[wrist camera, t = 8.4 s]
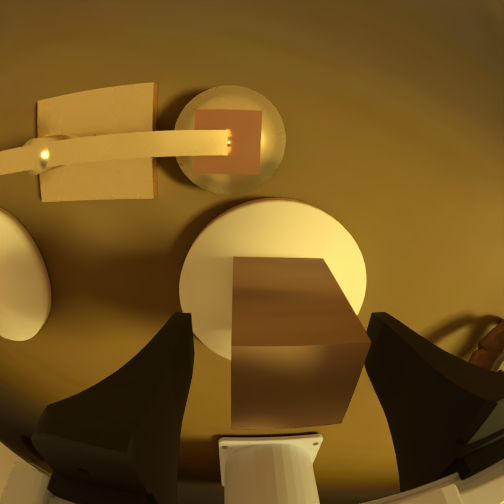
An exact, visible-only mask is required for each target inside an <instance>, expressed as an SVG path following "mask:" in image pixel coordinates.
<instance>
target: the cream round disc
mask: <svg viewBox="0 0 504 504" xmlns="http://www.w3.org/2000/svg"><path fill="white" fill-rule="evenodd" d="M51 304H52V293H51V284H50V279H49V275H48V272H47V268H46V265H45V263H44V260H43V258H42V255H41V253H40V251H39V249H38V247H37V245H36V244H35V242H34V240H33V239H32V237H31V236H30V234H29V233H28V231H27V230H26V229H25V227H24V226H23V225H22V224H21V223H20V222H19V221H18V220H17V219H16V218H15V217H14V216H13V215H12V214H11V213H9V212H8V211H6V210H5V209H3V208H1V207H0V336H2V337H4V338H7V339H10V340H15V341H23V340H28V339H30V338H32V337H33V336H34V335H36V333H37V332H38V331H39V330H40V328H41V327H42V326H43V324H44V323H45V322H46V320H47V318H48V316H49V313H50V310H51Z"/></svg>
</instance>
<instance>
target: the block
mask: <svg viewBox="0 0 504 504" xmlns="http://www.w3.org/2000/svg"><path fill="white" fill-rule="evenodd" d="M370 344H371V340H370V338H369V337H368V335H367V333H366V331H365V329H364V328H363V326H362V324H361V322H360V321H359V319H358V317H357V315H356V313H355V312H354V310H353V308H352V306H351V305H350V303H349V301H348V300H347V298H346V296H345V294H344V293H343V291H342V289H341V288H340V286H339V284H338V282H337V281H336V279H335V277H334V276H333V274H332V272H331V271H330V269H329V267H328V266H327V264H326V262H325V261H324V259H323V258H282V257H236V256H233V288H232V331H231V429H281V428H298V427H311V426H322V425H331V424H339V423H342V420H343V418H344V415H345V413H346V411H347V408H348V406H349V403H350V401H351V398H352V395H353V393H354V390H355V388H356V385H357V382H358V380H359V377H360V374H361V371H362V368H363V365H364V363H365V360H366V357H367V354H368V351H369V348H370Z"/></svg>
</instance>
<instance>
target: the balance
mask: <svg viewBox="0 0 504 504" xmlns="http://www.w3.org/2000/svg"><path fill="white" fill-rule="evenodd" d="M157 95H158V84H156V83H154V82H153V83H141V84H131V85H123V86H115V87H108V88H101V89H94V90H88V91H83V92H77V93H72V94H67V95H62V96H57V97H53V98H48V99H44V100H40V101H38V117H37V132H38V138H34V139H30V140H28V141H27V142H26V143H25V144H24V146H23V147H18V148H13V149H9V150H4V151H0V175H3V174H9V173H14V172H20V171H25V172H26V173H28V174H29V175H37V174H39V176H40V187H41V197H42V202H53V201H74V200H101V199H153V198H154V197H156V196H157V163H156V157H166V156H175V157H176V160H177V162H178V164H179V166H180V168H181V170H182V171H183V173H184V174H185V175H186V176H187V177H188V178H189V179H190V180H191V181H192V182H193V183H194V184H196V185H197V186H199V187H200V188H202V189H204V190H207V191H209V192H212V193H216V194H223V195H235V194H241V193H245V192H248V191H251V190H253V189H255V188H257V187H259V186H260V185H262V184H263V183H265V182H266V181H267V180H268V179H269V178H270V177H271V176H272V175H273V174H274V172H275V171H276V170H277V168H278V167H279V165H280V163H281V161H282V158H283V155H284V152H285V146H286V133H285V127H284V124H283V121H282V118H281V116H280V114H279V112H278V111H277V109H276V108H275V107H274V105H273V104H272V103H271V102H270V101H269V100H268V99H267V98H266V97H264V96H263V95H261V94H260V93H258V92H256V91H254V90H252V89H249V88H246V87H241V86H234V85H226V86H219V87H214V88H211V89H208V90H206V91H204V92H202V93H200V94H199V95H197V96H196V97H194V98H193V99H192V100H191V101H190V102H189V103H188V104H187V105H186V106H185V107H184V109H183V110H182V112H181V113H180V115H179V117H178V119H177V122H176V124H175V128H174V130H169V131H157Z"/></svg>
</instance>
